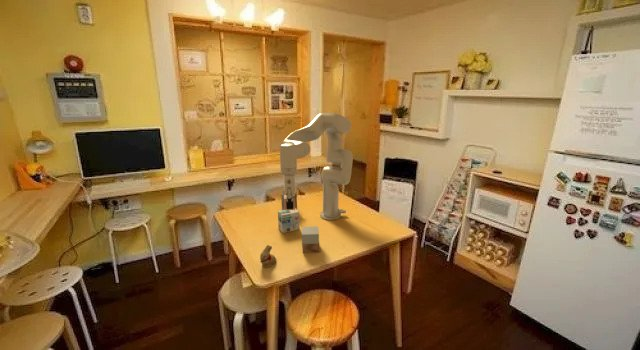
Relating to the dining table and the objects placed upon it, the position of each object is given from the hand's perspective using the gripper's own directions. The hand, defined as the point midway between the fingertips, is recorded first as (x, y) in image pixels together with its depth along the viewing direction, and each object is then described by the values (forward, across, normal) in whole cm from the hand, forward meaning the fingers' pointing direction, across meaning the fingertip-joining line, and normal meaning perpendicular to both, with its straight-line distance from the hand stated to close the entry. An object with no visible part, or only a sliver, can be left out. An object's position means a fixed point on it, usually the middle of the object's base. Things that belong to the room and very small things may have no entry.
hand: (289, 206), depth 138 cm
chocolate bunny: (+21, -16, +10) cm, 28 cm away
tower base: (+21, -4, -10) cm, 24 cm away
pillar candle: (+22, +40, +1) cm, 45 cm away
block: (+1, 0, 0) cm, 1 cm away
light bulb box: (+22, +18, +1) cm, 28 cm away
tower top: (+16, -4, -9) cm, 19 cm away
